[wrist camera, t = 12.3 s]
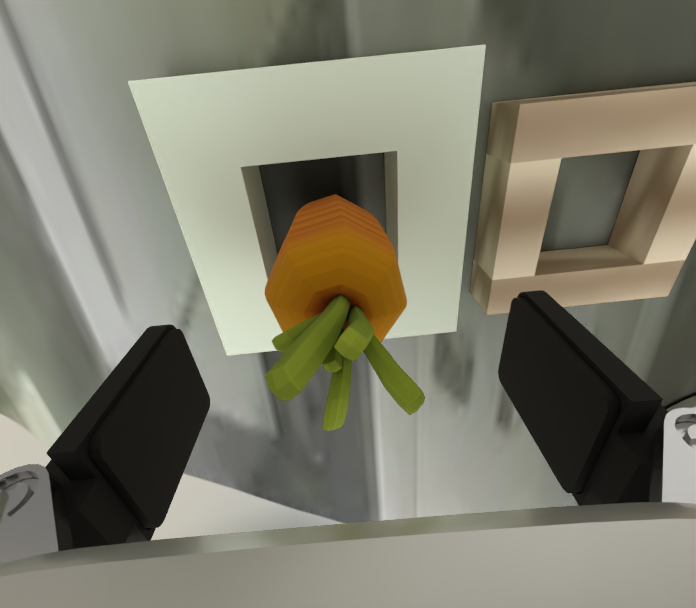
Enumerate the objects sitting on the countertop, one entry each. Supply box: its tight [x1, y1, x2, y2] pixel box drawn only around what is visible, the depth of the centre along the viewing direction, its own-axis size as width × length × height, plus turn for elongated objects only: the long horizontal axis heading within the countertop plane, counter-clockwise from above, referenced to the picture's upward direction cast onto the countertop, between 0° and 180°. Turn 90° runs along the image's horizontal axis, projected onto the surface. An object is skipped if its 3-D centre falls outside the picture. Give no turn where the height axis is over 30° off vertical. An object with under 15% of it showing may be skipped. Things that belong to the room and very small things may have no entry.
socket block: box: [470, 81, 696, 315], centre depth 20 cm, size 12×12×3 cm
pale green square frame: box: [128, 44, 486, 356], centre depth 19 cm, size 14×14×4 cm
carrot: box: [265, 194, 425, 431], centre depth 14 cm, size 5×5×15 cm
